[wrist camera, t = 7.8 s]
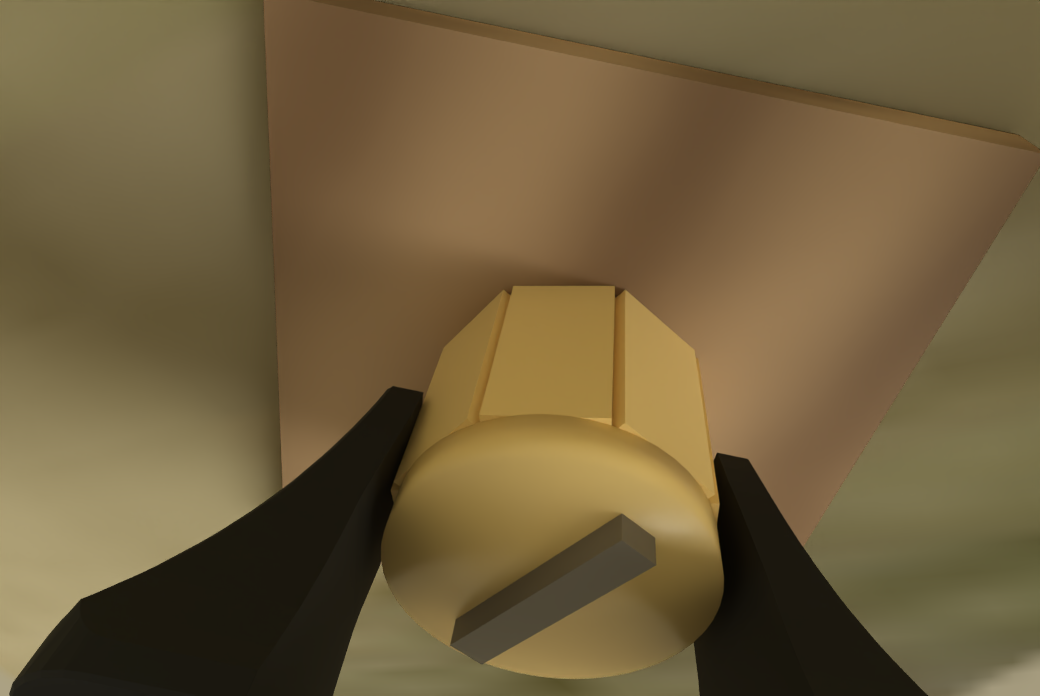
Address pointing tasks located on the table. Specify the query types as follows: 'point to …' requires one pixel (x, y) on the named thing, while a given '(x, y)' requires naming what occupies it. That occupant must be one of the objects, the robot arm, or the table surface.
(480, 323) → the cap
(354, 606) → the robot arm
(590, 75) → the post board
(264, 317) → the table surface
